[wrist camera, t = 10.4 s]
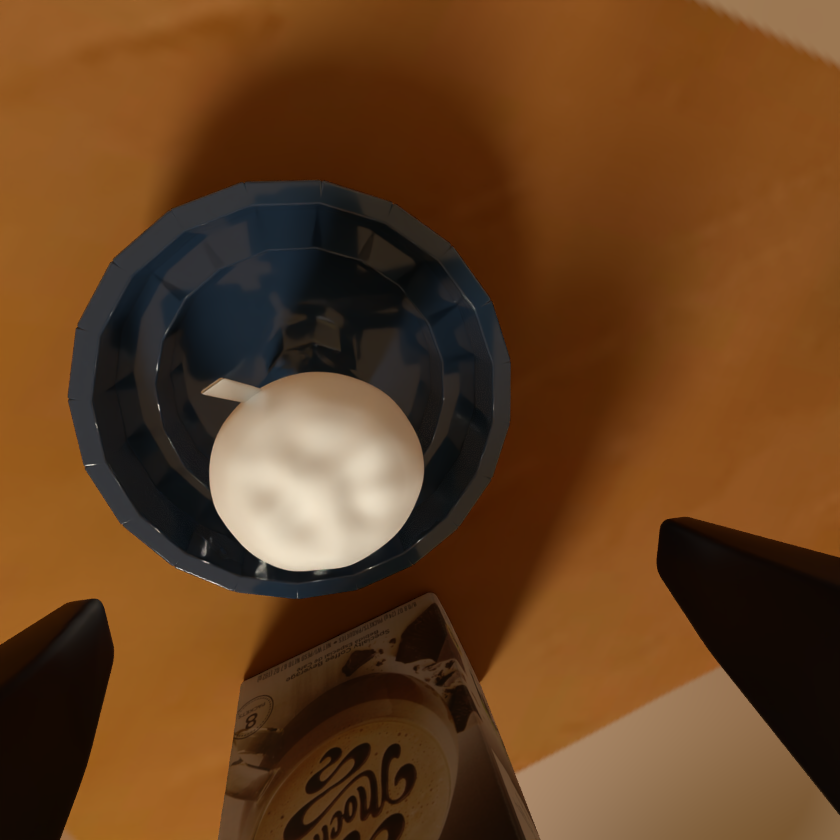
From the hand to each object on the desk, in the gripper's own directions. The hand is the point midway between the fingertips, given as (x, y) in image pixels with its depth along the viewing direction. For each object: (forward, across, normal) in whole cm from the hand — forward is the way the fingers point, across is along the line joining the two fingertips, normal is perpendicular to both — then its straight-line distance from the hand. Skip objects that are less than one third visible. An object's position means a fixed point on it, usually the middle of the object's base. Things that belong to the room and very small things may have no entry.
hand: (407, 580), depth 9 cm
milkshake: (+12, +2, -1) cm, 12 cm away
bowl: (+12, +2, -1) cm, 13 cm away
